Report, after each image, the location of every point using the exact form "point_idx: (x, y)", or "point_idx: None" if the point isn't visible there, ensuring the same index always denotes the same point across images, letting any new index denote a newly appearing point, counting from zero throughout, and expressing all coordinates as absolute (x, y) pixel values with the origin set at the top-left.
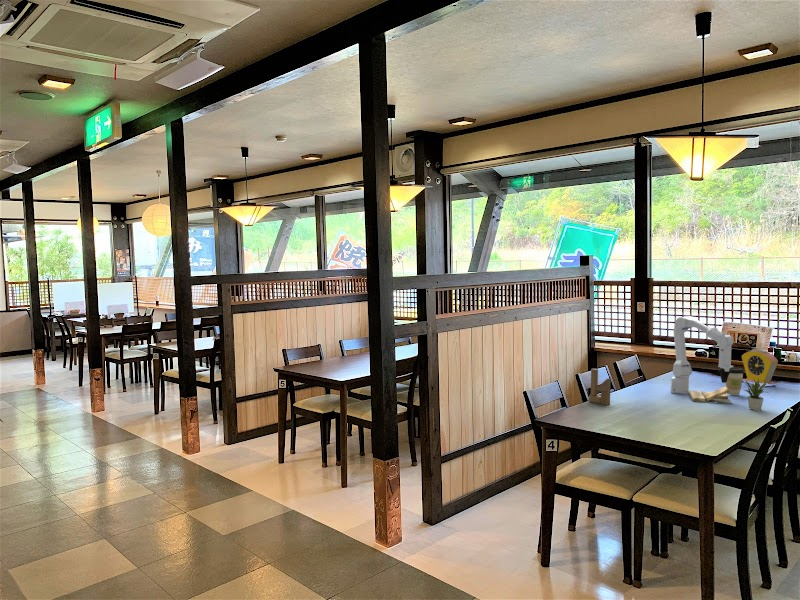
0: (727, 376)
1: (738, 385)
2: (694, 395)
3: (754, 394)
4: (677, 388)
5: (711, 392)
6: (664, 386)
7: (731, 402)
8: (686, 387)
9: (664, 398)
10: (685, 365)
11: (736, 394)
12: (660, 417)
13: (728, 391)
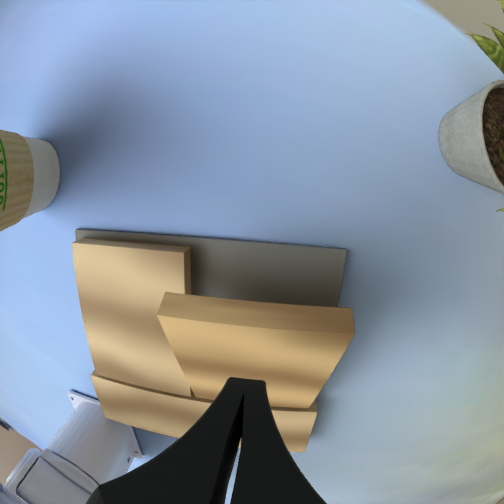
0: (286, 456)
1: (9, 151)
2: None
3: None
4: (123, 457)
5: (202, 381)
6: (42, 422)
7: (313, 250)
8: (108, 438)
9: None
10: (22, 498)
11: (52, 160)
12: (495, 465)
13: (350, 323)
